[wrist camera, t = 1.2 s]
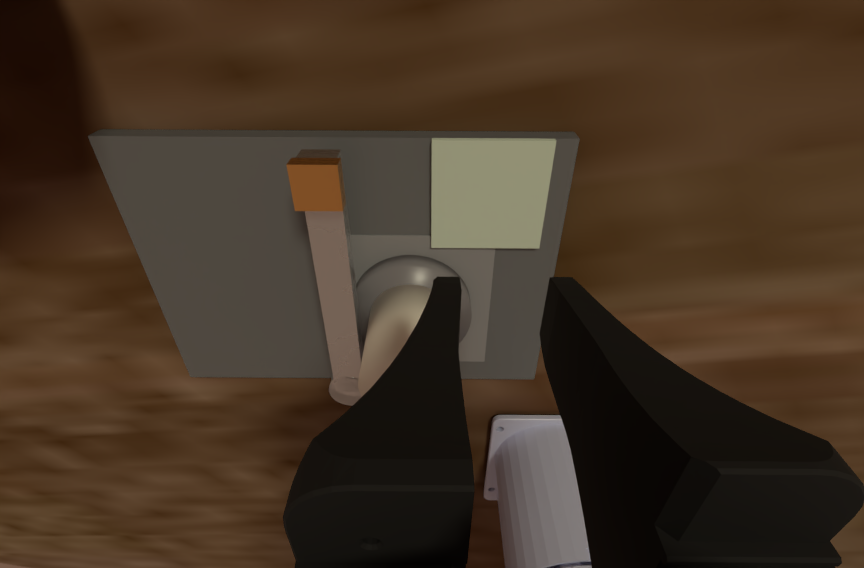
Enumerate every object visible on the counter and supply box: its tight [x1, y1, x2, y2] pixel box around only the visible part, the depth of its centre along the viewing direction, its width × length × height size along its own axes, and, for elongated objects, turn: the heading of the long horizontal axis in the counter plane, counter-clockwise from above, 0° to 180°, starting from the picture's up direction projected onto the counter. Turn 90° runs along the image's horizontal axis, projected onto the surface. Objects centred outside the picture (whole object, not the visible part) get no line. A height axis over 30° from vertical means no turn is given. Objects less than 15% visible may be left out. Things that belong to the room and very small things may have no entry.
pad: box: [431, 138, 556, 249], centre depth 20 cm, size 5×5×1 cm
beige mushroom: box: [356, 255, 472, 396], centre depth 21 cm, size 6×6×6 cm
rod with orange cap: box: [286, 149, 363, 406], centre depth 21 cm, size 14×2×2 cm, turn 0°
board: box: [88, 129, 579, 379], centre depth 23 cm, size 14×20×2 cm
